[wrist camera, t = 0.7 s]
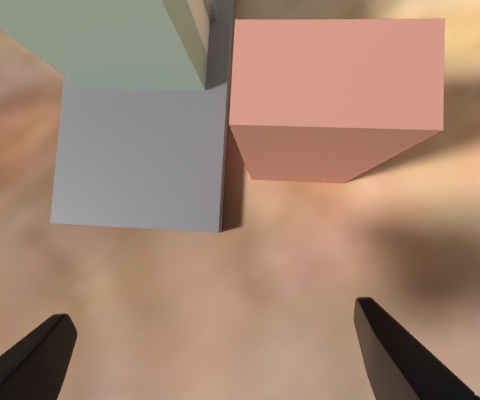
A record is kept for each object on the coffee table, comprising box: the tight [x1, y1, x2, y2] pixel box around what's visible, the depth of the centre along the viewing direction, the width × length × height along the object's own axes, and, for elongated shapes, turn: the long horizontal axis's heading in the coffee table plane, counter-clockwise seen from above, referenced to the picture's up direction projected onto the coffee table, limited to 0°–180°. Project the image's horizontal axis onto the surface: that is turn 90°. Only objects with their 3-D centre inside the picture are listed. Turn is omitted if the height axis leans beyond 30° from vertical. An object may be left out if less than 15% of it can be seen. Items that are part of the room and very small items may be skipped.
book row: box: [0, 0, 210, 91], centre depth 18 cm, size 5×9×11 cm, turn 87°
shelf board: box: [50, 0, 235, 233], centre depth 24 cm, size 18×12×2 cm, turn 177°
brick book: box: [229, 19, 445, 183], centre depth 17 cm, size 4×6×13 cm, turn 87°
